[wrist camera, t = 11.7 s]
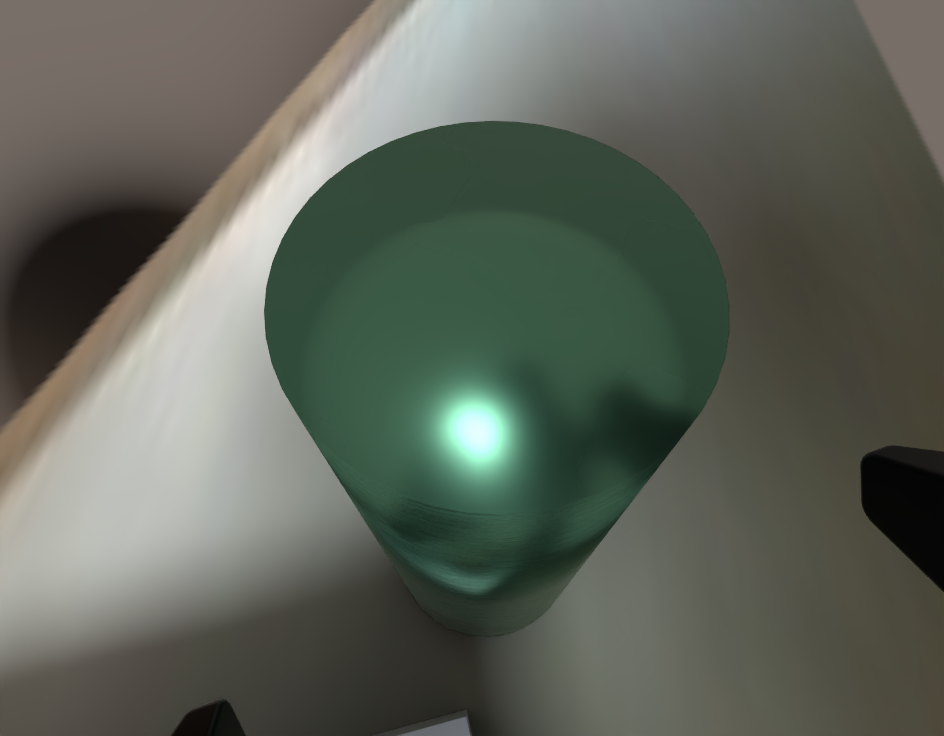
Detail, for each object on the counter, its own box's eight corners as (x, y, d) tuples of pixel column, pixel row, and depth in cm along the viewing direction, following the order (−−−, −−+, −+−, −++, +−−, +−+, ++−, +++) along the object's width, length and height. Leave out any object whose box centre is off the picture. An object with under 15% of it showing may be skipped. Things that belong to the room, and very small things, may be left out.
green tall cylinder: (596, 607, 18) (819, 432, 6) (420, 660, 17) (300, 576, 6) (540, 443, 20) (624, 88, 8) (382, 484, 19) (240, 166, 8)
